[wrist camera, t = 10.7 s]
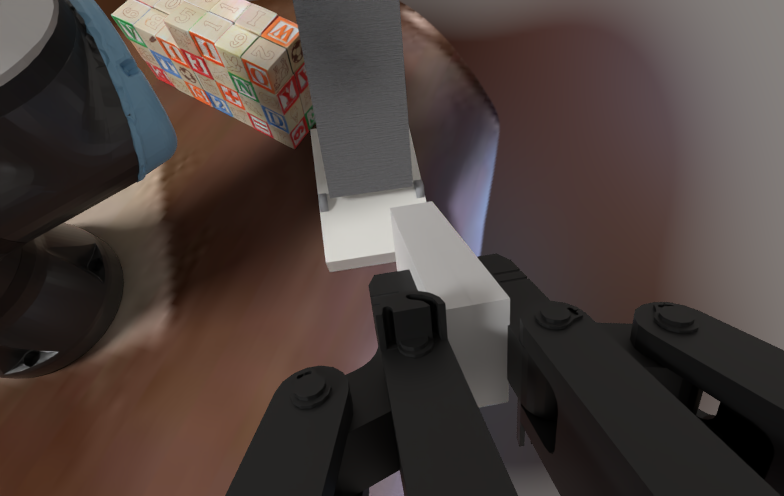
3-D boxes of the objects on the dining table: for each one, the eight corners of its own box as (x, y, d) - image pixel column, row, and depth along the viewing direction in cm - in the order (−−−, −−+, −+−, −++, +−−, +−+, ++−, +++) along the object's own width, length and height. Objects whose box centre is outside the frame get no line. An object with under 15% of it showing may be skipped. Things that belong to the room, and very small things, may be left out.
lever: (421, 186, 39) (404, -86, 29) (321, 201, 38) (267, -74, 28) (417, 179, 41) (399, -78, 31) (322, 192, 41) (271, -66, 30)
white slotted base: (432, 255, 42) (441, 228, 35) (330, 272, 41) (319, 247, 35) (405, 133, 48) (408, 90, 41) (314, 145, 47) (303, 104, 40)
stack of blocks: (156, 80, 50) (88, -15, 39) (188, 48, 52) (133, -51, 41) (295, 150, 47) (266, 69, 35) (324, 114, 49) (306, 25, 37)
